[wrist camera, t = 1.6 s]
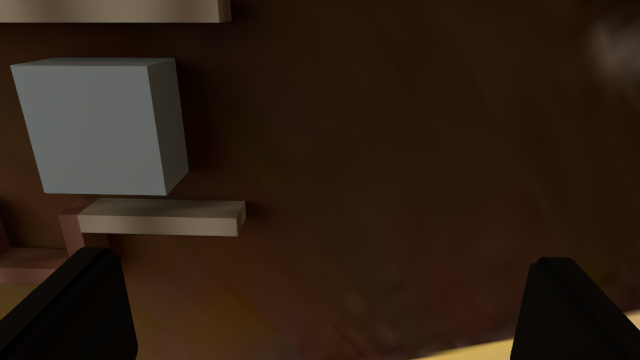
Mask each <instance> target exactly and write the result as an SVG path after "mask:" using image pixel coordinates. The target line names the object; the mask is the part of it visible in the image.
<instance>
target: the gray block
mask: <svg viewBox="0 0 640 360" xmlns="http://www.w3.org/2000/svg"><path fill="white" fill-rule="evenodd" d="M10 66H11V70H12V74H13V77H14V81H15V85H16V88H17V92H18V96H19V100H20V103H21V107H22V111H23V114H24V118H25V122H26V126H27V129H28V133H29V137H30V140H31V144H32V148H33V151H34V155H35V159H36V163H37V166H38V170H39V174H40V177H41V181H42V185H43V188H44V192H45V193H77V194H124V195H167V194H168V193H169V192H170V191H171V190H172V189H173V188H174V187H175V186H176V184H177V183H178V182H179V181H180V180H181V179H182V178H183V177H184V176H185V175H186V174H187V173H188V172H189V168H188V160H187V152H186V144H185V136H184V128H183V120H182V112H181V104H180V96H179V88H178V80H177V72H176V64H175V58H76V57H57V58H51V59H45V60H39V61H33V62H28V63H22V64H16V65H10Z"/></svg>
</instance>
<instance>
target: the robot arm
mask: <svg viewBox="0 0 640 360" xmlns="http://www.w3.org/2000/svg"><path fill="white" fill-rule="evenodd" d="M137 352H138V343H137V338H136V333H135V329H134V324H133V319H132V314H131V309H130V304H129V299H128V295H127V290H126V285H125V280H124V275H123V270H122V265H121V260H120V257H119V256H118V255H117V254H113V251H112V250H111V249H110V248H108V247H81V248H80V249H78V250H77V251H76V252H75V253H74V254H73V255H72V256H71V257H69V258H68V259H67V260H66V261H65V262H64V263H63V264H62V265H61V266H60V267H59V268H57V269H56V270H55V271H54V272H53V273H52V274H51V275H50V276H49V277H48V278H46V279H45V280H44V281H43V282H42V283H41V284H40V285H39V286H38V287H37V288H36V289H34V290H33V291H32V292H31V293H30V294H29V295H28V296H27V297H26V298H25V299H23V300H22V301H21V302H20V303H19V304H18V305H17V306H16V307H15V308H14V309H12V310H11V311H10V312H9V313H8V314H7V315H6V316H5V317H4V318H3V319H2V320H0V360H135V359H136V356H137ZM510 360H640V330H639V329H638V328H637V327H636V326H635V325H634V324H633V323H632V322H631V321H630V320H629V319H628V318H627V317H626V315H625V314H624V313H623V312H622V311H621V310H620V309H619V308H618V307H617V306H616V305H615V304H614V303H613V302H612V301H611V300H610V299H609V297H608V296H607V295H606V294H605V293H604V292H603V291H602V290H601V289H600V288H599V287H598V286H597V285H596V284H595V283H594V282H593V280H592V279H591V278H590V277H589V276H588V275H587V274H586V273H585V272H584V271H583V270H582V269H581V268H580V267H579V266H578V265H577V264H576V262H575V261H574V260H572V259H571V258H567V257H541V258H540V259H539V260H538V262H537V263H533V264H531V266H530V268H529V272H528V277H527V281H526V286H525V290H524V295H523V300H522V304H521V309H520V313H519V318H518V323H517V327H516V332H515V336H514V341H513V346H512V350H511V355H510Z"/></svg>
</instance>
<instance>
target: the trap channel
mask: <svg viewBox="0 0 640 360" xmlns="http://www.w3.org/2000/svg"><path fill="white" fill-rule="evenodd" d="M228 21H232V20H231V7H230V0H0V22H228ZM58 217H59V221H60V224H61V228H62V232H63V236H64V239H65V243H66V247H67V249H59V248H21V247H11V245H10V242H9V239H8V236H7V232H6V229H5V226H4V223H3V220H2V217H1V214H0V283H17V284H41V283H42V282H43V281H44V280H45V279H46V278H48V277H49V276H50V275H51V274H52V273H53V272H54V271H55V270H56V269H57V268H59V267H60V266H61V265H62V264H63V263H64V262H65V261H66V260H67V259H68V258H69V257H71V256H72V255H73V254H74V253H75V252H76V251H77V250H78V249H80V248H81V247H108V248H110V246H109V241H108V237H107V233H128V234H168V235H208V236H238V234H239V232H240V230H241V228H242V226H243V223H244V221H245V219H246V206H245V201H223V200H175V199H127V198H80V199H79V200H77V201H76V202H75V203H73V204H72V205H70V206H69V207H68V208H66V209H65V210H64V211H62V212H61V213H59V214H58Z"/></svg>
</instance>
